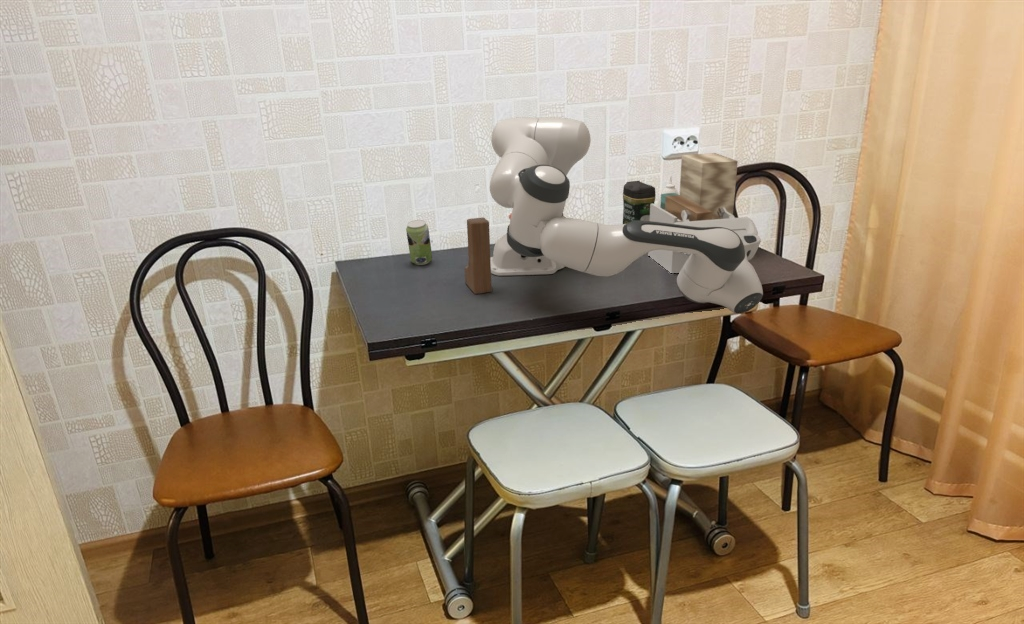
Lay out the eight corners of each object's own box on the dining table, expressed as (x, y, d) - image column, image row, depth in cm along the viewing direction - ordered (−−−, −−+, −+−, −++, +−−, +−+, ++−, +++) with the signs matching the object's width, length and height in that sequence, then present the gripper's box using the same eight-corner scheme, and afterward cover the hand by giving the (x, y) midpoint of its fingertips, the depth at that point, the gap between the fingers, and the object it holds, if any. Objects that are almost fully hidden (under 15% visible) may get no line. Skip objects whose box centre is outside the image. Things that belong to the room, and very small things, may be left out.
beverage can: (434, 259, 210) (431, 217, 206) (429, 267, 204) (426, 224, 199) (412, 259, 211) (409, 217, 207) (406, 267, 204) (403, 224, 200)
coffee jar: (617, 242, 221) (618, 180, 214) (640, 239, 224) (643, 177, 217) (633, 251, 213) (635, 186, 206) (657, 248, 215) (660, 184, 208)
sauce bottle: (686, 235, 227) (690, 176, 220) (667, 239, 223) (670, 179, 216) (668, 229, 233) (671, 172, 226) (649, 233, 229) (652, 175, 223)
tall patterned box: (695, 258, 206) (702, 163, 196) (676, 245, 218) (681, 155, 208) (729, 254, 208) (737, 161, 198) (708, 242, 220) (715, 152, 210)
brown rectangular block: (695, 229, 181) (697, 213, 180) (660, 208, 201) (661, 193, 200) (711, 228, 182) (712, 212, 181) (674, 207, 202) (675, 192, 201)
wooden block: (465, 283, 191) (461, 214, 184) (481, 281, 192) (479, 212, 186) (474, 294, 183) (471, 223, 177) (492, 292, 184) (489, 221, 178)
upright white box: (671, 274, 194) (674, 217, 188) (648, 256, 208) (650, 203, 203) (700, 271, 195) (704, 215, 190) (674, 254, 210) (678, 201, 204)
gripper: (677, 265, 174) (659, 223, 182) (758, 258, 177) (736, 217, 186) (684, 246, 169) (665, 204, 177) (767, 239, 172) (744, 198, 181)
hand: (702, 210), depth 181 cm, fingers open, 8 cm apart
